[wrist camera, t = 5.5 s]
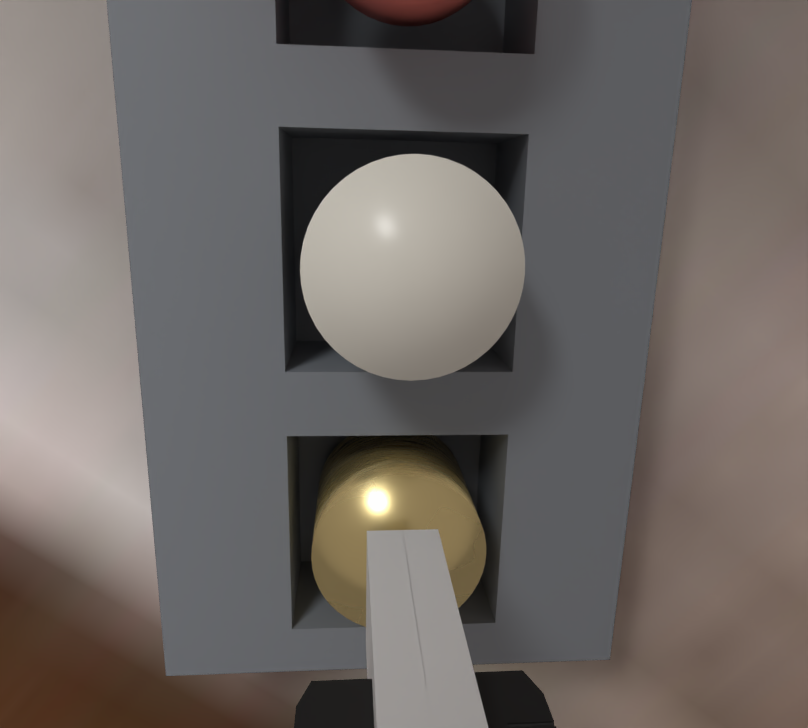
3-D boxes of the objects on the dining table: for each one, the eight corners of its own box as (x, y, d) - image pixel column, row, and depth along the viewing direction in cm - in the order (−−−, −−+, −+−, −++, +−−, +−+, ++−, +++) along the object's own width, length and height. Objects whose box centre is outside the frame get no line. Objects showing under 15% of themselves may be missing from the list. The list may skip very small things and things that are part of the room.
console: (200, 585, 21) (165, 675, 17) (143, -241, 15) (72, -386, 11) (564, 576, 22) (610, 659, 18) (641, -204, 16) (732, -326, 12)
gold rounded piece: (319, 556, 19) (312, 634, 16) (317, 422, 18) (309, 476, 15) (459, 553, 20) (481, 628, 16) (466, 421, 19) (491, 474, 15)
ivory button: (312, 339, 16) (302, 380, 12) (309, 158, 15) (297, 150, 11) (482, 339, 16) (517, 380, 13) (492, 163, 15) (533, 157, 12)
